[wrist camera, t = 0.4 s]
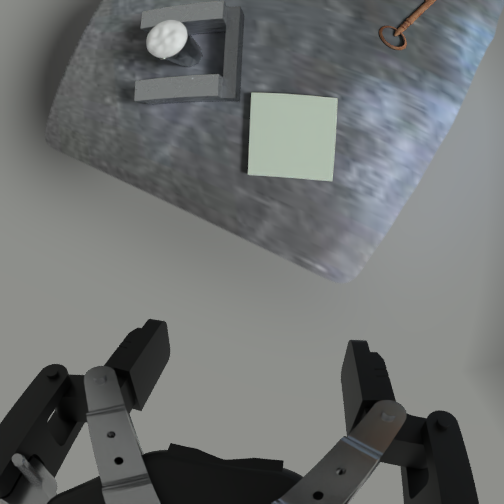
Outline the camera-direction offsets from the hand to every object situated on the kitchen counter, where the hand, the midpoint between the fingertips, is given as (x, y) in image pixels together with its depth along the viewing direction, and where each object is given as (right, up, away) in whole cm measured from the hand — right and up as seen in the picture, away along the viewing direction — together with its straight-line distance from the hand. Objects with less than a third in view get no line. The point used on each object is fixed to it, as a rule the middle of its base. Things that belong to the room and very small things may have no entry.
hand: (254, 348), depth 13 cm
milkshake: (-8, +28, +20) cm, 36 cm away
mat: (+5, +18, +22) cm, 29 cm away
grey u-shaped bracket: (-8, +28, +20) cm, 36 cm away
